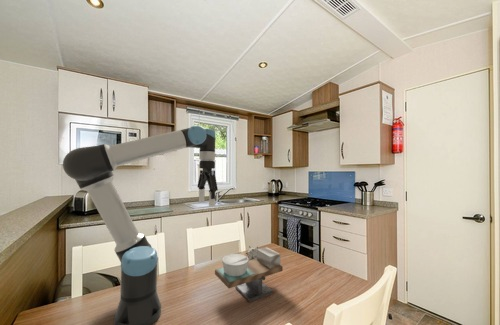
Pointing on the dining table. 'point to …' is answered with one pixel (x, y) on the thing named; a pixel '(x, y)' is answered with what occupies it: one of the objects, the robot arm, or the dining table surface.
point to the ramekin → (235, 264)
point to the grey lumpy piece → (252, 253)
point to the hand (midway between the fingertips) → (206, 203)
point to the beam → (254, 268)
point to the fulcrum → (254, 290)
